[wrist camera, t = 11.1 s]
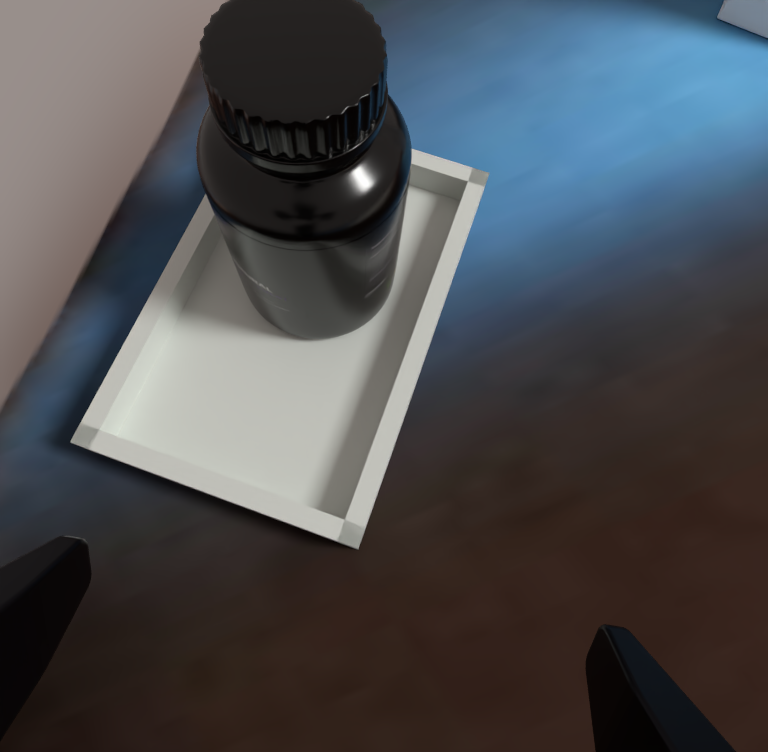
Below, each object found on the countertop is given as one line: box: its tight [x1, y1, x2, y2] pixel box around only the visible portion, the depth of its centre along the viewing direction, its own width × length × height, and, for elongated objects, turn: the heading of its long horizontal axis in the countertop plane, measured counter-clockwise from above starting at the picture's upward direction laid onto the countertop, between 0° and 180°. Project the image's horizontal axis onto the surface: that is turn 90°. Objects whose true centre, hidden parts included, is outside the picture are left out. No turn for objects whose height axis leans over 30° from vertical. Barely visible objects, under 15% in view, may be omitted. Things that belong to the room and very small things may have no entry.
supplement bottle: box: [196, 0, 412, 339], centre depth 20 cm, size 7×7×12 cm
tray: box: [70, 149, 489, 550], centre depth 24 cm, size 18×12×2 cm, turn 161°
